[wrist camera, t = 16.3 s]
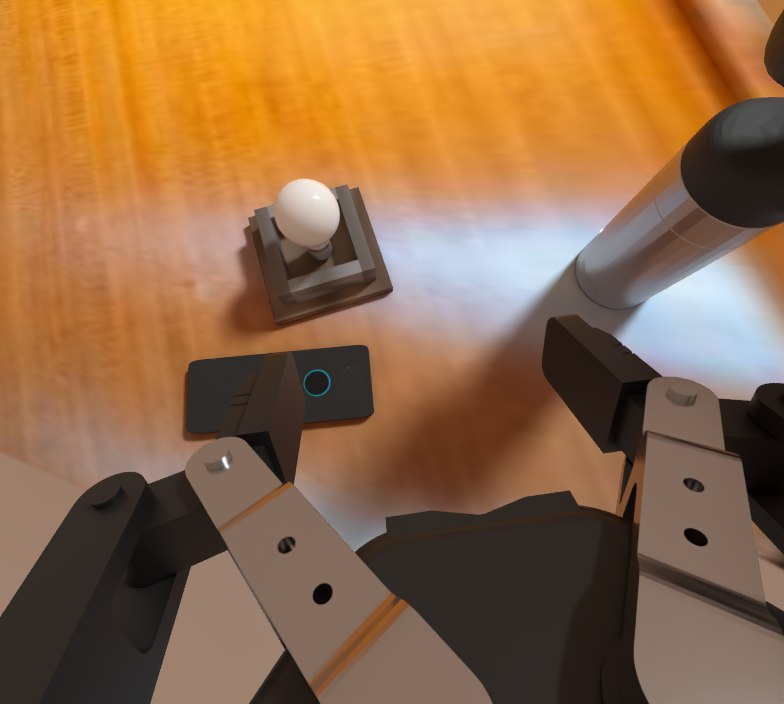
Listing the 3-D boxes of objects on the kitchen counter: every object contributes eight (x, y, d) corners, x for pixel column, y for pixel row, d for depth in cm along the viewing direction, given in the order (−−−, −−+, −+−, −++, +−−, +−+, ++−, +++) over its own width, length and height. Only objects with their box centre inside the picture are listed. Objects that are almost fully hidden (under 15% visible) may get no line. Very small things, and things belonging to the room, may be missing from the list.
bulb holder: (359, 193, 49) (356, 170, 44) (392, 291, 45) (392, 275, 41) (251, 223, 48) (238, 202, 43) (278, 325, 44) (266, 313, 40)
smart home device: (374, 416, 41) (185, 435, 40) (374, 418, 42) (193, 436, 42) (367, 342, 43) (187, 359, 42) (368, 346, 44) (195, 362, 44)
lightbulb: (296, 279, 44) (265, 227, 34) (293, 231, 46) (263, 166, 35) (350, 274, 45) (337, 220, 34) (346, 226, 46) (332, 160, 35)
